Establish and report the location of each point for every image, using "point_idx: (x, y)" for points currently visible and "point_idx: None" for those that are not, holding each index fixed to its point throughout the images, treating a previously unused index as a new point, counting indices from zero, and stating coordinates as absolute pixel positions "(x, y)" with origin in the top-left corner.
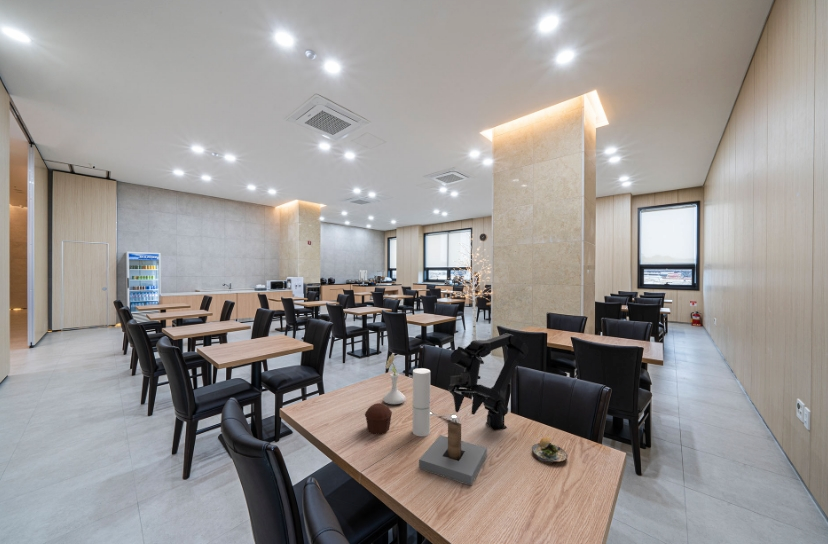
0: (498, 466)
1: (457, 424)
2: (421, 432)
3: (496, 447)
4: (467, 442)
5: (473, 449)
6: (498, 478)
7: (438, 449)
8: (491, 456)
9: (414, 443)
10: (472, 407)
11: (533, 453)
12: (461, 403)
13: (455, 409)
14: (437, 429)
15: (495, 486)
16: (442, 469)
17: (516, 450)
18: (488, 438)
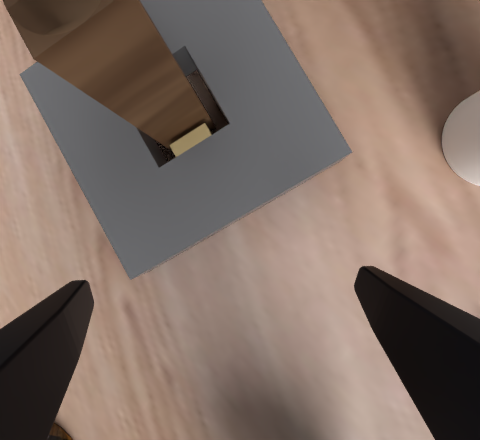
0: (79, 256)
1: (39, 12)
2: (466, 105)
3: (173, 356)
4: (212, 232)
5: (150, 213)
6: (34, 202)
7: (238, 61)
8: (137, 285)
9: (409, 47)
10: (23, 328)
11: (53, 436)
12: (424, 414)
13: (384, 274)
14: (466, 233)
15: (13, 162)
16: None
17: (114, 406)
18: (245, 387)
